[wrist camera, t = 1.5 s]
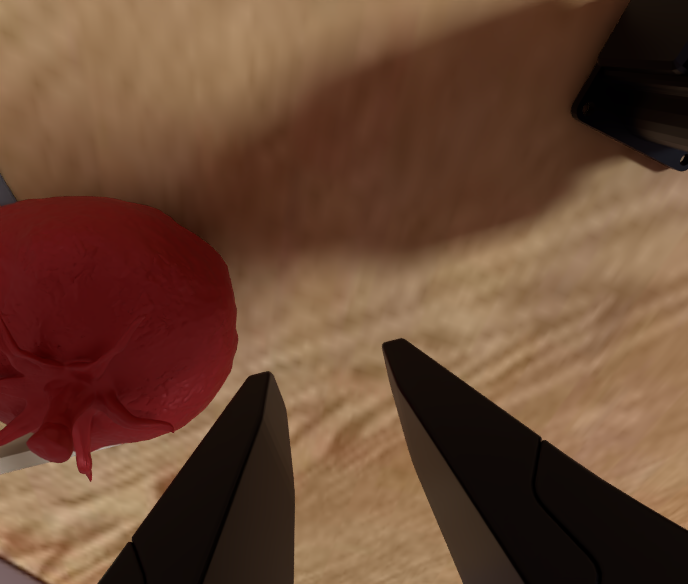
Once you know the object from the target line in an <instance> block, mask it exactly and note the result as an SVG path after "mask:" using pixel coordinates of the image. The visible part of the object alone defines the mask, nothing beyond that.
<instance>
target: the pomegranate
mask: <svg viewBox="0 0 688 584" xmlns="http://www.w3.org/2000/svg"><path fill="white" fill-rule="evenodd" d="M236 316H237V308H236V305H235V297H234V292H233V288H232V284H231V279H230V276H229V272H228V267H227V265H226V263H225V262H224V260H223V259H222V257H221V256H220V254H219V253H217V252H216V251H215V249H214V248H213V247H211V246H210V245H209V244H208V243H207V242H205V241H203V240H202V239H201V238H200V237H198V236H197V235H195V234H194V233H192V232H190V231H188V230H187V229H185V228H184V227H182V226H180V225H178V224H177V223H176V222H175V221H174V220H173V219H172V218H171V217H170V216H168V215H166V214H164V213H163V212H161V211H160V210H158V209H156V208H153V207H150V206H147V205H141V204H137V203H131V202H126V201H122V200H118V199H114V198H108V197H94V196H63V197H52V198H45V199H27V200H23V201H19V202H15V203H12V204H8V205H4V206H1V207H0V421H1V422H3V423H5V424H7V426H6V427H5V428H3V429H2V430H1V431H0V446H3V445H5V444H7V443H10V442H12V441H13V440H15V439H17V438H19V437H22V436H24V435H26V434H28V433H30V432H31V433H34V434H33V435H32V436H31V437H30V438H29V439H28V441H27V442H26V445H27V447H28V448H29V449H30V451H31V452H33V453H34V454H36V455H37V456H39V457H40V458H43V459H45V460H48V461H50V462H55V463H63V462H66V461H67V460H68V459H69V458H70V457H71V455H72V453H73V451H74V452H75V453H76V462H77V467H78V470H79V472H80V473H82V474H86V476H87V477H88V479H89V480H90V482H91V480H92V471H91V469H92V459H91V454H90V452H92V451H95V450H98V449H100V448H103V447H106V446H112V445H118V444H124V443H132V442H139V441H145V440H150V439H153V438H156V437H158V436H161V435H164V434H166V433H169V432H172V433H174V431H176V430H178V429H180V428H182V427H183V426H185V425H186V424H187V423H188V422H190V421H191V420H192V419H193V418H195V417H196V416H197V415H198V414H199V413H201V412H202V411H203V410H204V409H205V408H206V407H207V406H208V405H209V403H210V402H211V401H212V400H213V398H214V397H215V396H216V394H217V392H218V391H219V390H220V388H221V387H222V385H223V384H224V382H225V380H226V379H227V377H228V375H229V374H230V372H231V369H232V363H233V358H234V355H235V353H236V350H237V344H238V334H237V331H236Z"/></svg>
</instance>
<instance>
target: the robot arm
mask: <svg viewBox="0 0 688 584" xmlns="http://www.w3.org/2000/svg"><path fill="white" fill-rule="evenodd" d="M586 103H589V108H588V111H587V112H586V113H584V114H583V111H582V110H583V107H584V105H585V104H586ZM571 114H572V117H573V118H574V119H575V120H577V121H579V122H581V123H583V124H585V125H587V126H589V127H591V128H593V129H595V130H597V131H599V132H600V133H602V134H604V135H606V136H608V137H610V138H612V139H614V140H616V141H618V142H620V143H622V144H624V145H626V146H628V147H630V148H632V149H634V150H636V151H638V152H640V153H642V154H644V155H646V156H648V157H650V158H652V159H653V160H655V161H657V162H659V163H661V164H663V165H665V166H667V167H669V168H671V169H674V170H677V171H686V170H687V169H688V0H631V1H630V3H629V5H628V6H627V8H626V10H625V11H624V13H623V15H622V17H621V18H620V20H619V22H618V23H617V25H616V27H615V28H614V30H613V32H612V34H611V35H610V37H609V39H608V40H607V42H606V44H605V45H604V47H603V49H602V51H601V52H600V54H599V56H598V62H597V64H596V65H595V67H594V69H593V70H592V72H591V74H590V75H589V77H588V79H587V81H586V82H585V84H584V86H583V87H582V89H581V91H580V92H579V94H578V96H577V97H576V99H575V101H574V103H573V105H572V107H571ZM683 156H684V159H683V160H682V161H681V162H680V160H681V158H682V157H683ZM382 351H383V355H384V360H385V364H386V369H387V373H388V378H389V382H390V386H391V390H392V393H393V397H394V400H395V404H396V407H397V411H398V415H399V418H400V422H401V425H402V429H403V432H404V436H405V439H406V443H407V446H408V450H409V453H410V456H411V459H412V462H413V465H414V468H415V470H416V473H417V475H418V478H419V480H420V482H421V485H422V487H423V489H424V492H425V494H426V497H427V499H428V501H429V504H430V506H431V508H432V511H433V513H434V515H435V518H436V520H437V523H438V525H439V527H440V530H441V532H442V534H443V537H444V539H445V542H446V544H447V546H448V549H449V551H450V553H451V556H452V558H453V561H454V563H455V565H456V568H457V570H458V572H459V575H460V577H461V579H462V582H463V584H688V530H686V529H684V528H683V527H681V526H679V525H678V524H676V523H674V522H672V521H671V520H669V519H667V518H666V517H664V516H662V515H661V514H659V513H657V512H655V511H654V510H652V509H650V508H649V507H647V506H645V505H643V504H642V503H640V502H639V501H637V500H635V499H634V498H632V497H630V496H629V495H627V494H626V493H624V492H622V491H621V490H619V489H617V488H616V487H614V486H613V485H611V484H609V483H608V482H606V481H604V480H603V479H601V478H600V477H598V476H597V475H595V474H594V473H592V472H591V471H589V470H588V469H586V468H585V467H583V466H582V465H580V464H579V463H578V462H576V461H575V460H573V459H572V458H570V457H569V456H567V455H566V454H564V453H563V452H562V451H560V450H559V449H557V448H556V447H555V446H553V445H552V444H551V443H549V442H548V441H546V440H543V441H542V438H541V437H540V436H539V435H538V434H536V433H535V432H533V431H532V430H531V429H529V428H528V427H527V426H525V425H524V424H522V423H521V422H520V421H518V420H517V419H515V418H514V417H513V416H511V415H510V414H508V413H507V412H506V411H504V410H503V409H501V408H500V407H499V406H497V405H496V404H494V403H493V402H492V401H490V400H489V399H488V398H486V397H485V396H483V395H482V394H481V393H479V392H478V391H476V390H475V389H474V388H472V387H471V386H469V385H468V384H467V383H465V382H464V381H462V380H461V379H460V378H458V377H457V376H455V375H454V374H453V373H451V372H450V371H449V370H447V369H446V368H444V367H443V366H442V365H440V364H439V363H437V362H436V361H435V360H433V359H432V358H430V357H429V356H428V355H426V354H425V353H423V352H422V351H421V350H419V349H418V348H416V347H415V346H414V345H412V344H411V343H410V342H408V341H407V340H405V339H403V338H400V339H395V340H391V341H387V342H384V343H383V344H382ZM294 528H295V489H294V477H293V467H292V458H291V448H290V439H289V429H288V419H287V412H286V407H285V404H284V401H283V398H282V396H281V393H280V391H279V388H278V385H277V383H276V380H275V378H274V375H273V374H272V373H271V372H269V371H266V372H262V373H258V374H254V375H251V376H249V377H248V378H247V379H246V381H245V382H244V383H243V385H242V386H241V387H240V389H239V390H238V392H237V393H236V394H235V396H234V397H233V398H232V400H231V401H230V403H229V404H228V405H227V407H226V408H225V410H224V411H223V412H222V414H221V415H220V416H219V418H218V419H217V421H216V422H215V423H214V425H213V426H212V427H211V429H210V430H209V432H208V433H207V434H206V436H205V437H204V438H203V440H202V441H201V443H200V444H199V445H198V447H197V448H196V449H195V451H194V452H193V454H192V455H191V456H190V458H189V459H188V460H187V462H186V463H185V465H184V466H183V467H182V469H181V470H180V472H179V473H178V474H177V476H176V477H175V478H174V480H173V481H172V483H171V484H170V485H169V487H168V488H167V489H166V491H165V492H164V494H163V495H162V496H161V498H160V499H159V500H158V502H157V503H156V505H155V506H154V507H153V509H152V510H151V511H150V513H149V514H148V516H147V517H146V518H145V520H144V521H143V523H142V524H141V525H140V527H139V528H138V529H137V531H136V532H135V534H134V535H133V536H132V542H128V543H127V544H126V546H125V547H124V548H123V550H122V551H121V553H120V554H119V555H118V557H117V558H116V559H115V561H114V562H113V564H112V565H111V566H110V568H109V569H108V570H107V572H106V573H105V574H104V576H103V577H102V578H101V580H100V581H99V582H98V584H294Z"/></svg>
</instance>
